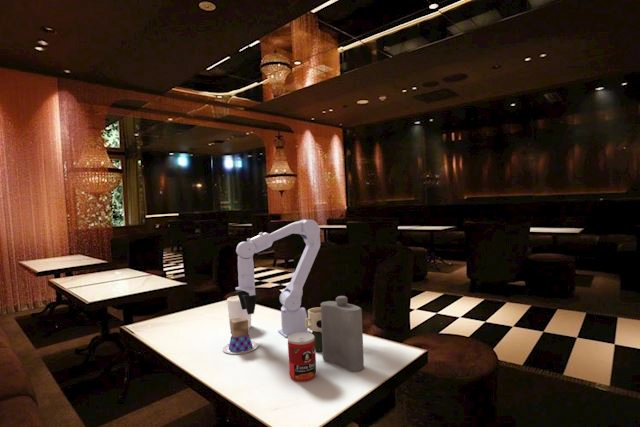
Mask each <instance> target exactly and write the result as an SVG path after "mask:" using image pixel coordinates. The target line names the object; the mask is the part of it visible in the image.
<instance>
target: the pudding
mask: <svg viewBox="0 0 640 427" xmlns="http://www.w3.org/2000/svg"><path fill="white" fill-rule="evenodd" d="M258 347H259V343H258V342H256V341H255V340H251V337H250V334H249V335H244V336H239V337H233V336H232V335H231V336H230V341H229V343H228V344H226V345H224V346H223V347H222V351H223V352H224V353H226V354H231V355H238V354H240V355H241V354H246V353H249V352H252V351H254V350H255V349H257V348H258ZM229 351H230V352H229Z"/></svg>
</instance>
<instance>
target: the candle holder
mask: <svg viewBox="0 0 640 427" xmlns="http://www.w3.org/2000/svg"><path fill="white" fill-rule="evenodd" d="M226 301H227V302H226V304H227V312H228V321H229V324H230V319H233V318H239V317H245V318H246V319H247V320H248V329H250V328H251V326H252V314H249V315H248V313H247V309H244V310H242V307H241V303H240V300H239V297H238V295H235V296H233V295H232V296H229V297H228V298H227V299H226Z"/></svg>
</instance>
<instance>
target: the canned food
mask: <svg viewBox="0 0 640 427" xmlns="http://www.w3.org/2000/svg"><path fill="white" fill-rule="evenodd" d="M287 351H288V368H289V369H288V371H289V372H288V374H289V376H290V377H289V378H290V379H291V380H292V381H294V382H301V383H304V382H309V381H311V380H313V379H314V378H315V377H316V374H317V361H316V360H317V358H316V350H315V336H314V335H313V334H312V332H311V333H310V332H308V333H306V332H301V333H295V334H292V335H290V336H289V337H287Z"/></svg>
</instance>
